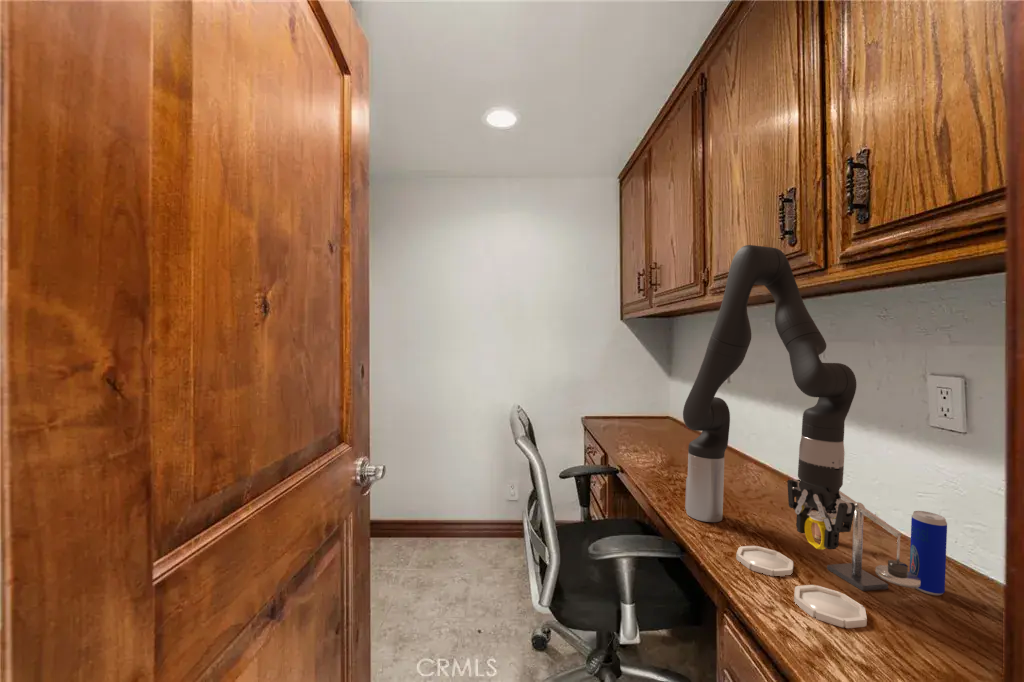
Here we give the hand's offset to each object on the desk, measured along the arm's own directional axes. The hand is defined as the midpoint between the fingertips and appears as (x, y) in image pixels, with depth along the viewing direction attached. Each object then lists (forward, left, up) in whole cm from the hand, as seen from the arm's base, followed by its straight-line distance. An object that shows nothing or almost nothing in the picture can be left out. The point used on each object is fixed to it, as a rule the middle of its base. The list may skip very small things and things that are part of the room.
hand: (816, 539), depth 89 cm
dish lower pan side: (+8, -5, -8) cm, 13 cm away
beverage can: (+5, +21, -9) cm, 23 cm away
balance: (0, +10, -8) cm, 13 cm away
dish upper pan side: (-8, -5, -8) cm, 13 cm away
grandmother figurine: (-17, +19, -9) cm, 26 cm away
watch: (0, 0, -1) cm, 1 cm away
